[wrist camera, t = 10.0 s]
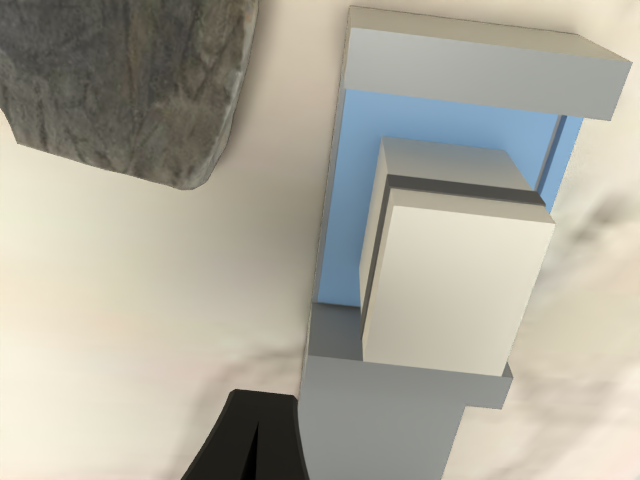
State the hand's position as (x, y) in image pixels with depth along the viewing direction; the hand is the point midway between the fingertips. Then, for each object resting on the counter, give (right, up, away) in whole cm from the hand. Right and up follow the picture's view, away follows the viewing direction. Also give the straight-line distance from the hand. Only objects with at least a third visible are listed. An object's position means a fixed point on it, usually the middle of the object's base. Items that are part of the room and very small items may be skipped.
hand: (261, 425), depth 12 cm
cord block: (+5, +5, +7) cm, 10 cm away
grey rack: (+4, +1, +11) cm, 12 cm away
